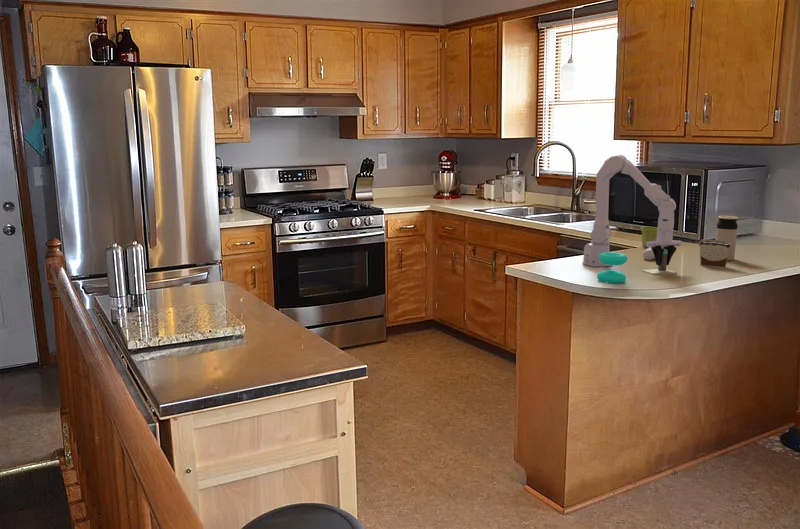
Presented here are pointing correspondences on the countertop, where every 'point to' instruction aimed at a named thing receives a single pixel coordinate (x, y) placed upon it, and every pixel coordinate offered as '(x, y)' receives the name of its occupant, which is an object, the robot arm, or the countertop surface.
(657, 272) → the notepad
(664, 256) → the marker
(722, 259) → the food container
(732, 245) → the travel mug
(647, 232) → the plant pot
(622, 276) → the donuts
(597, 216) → the robot arm
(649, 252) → the tube
